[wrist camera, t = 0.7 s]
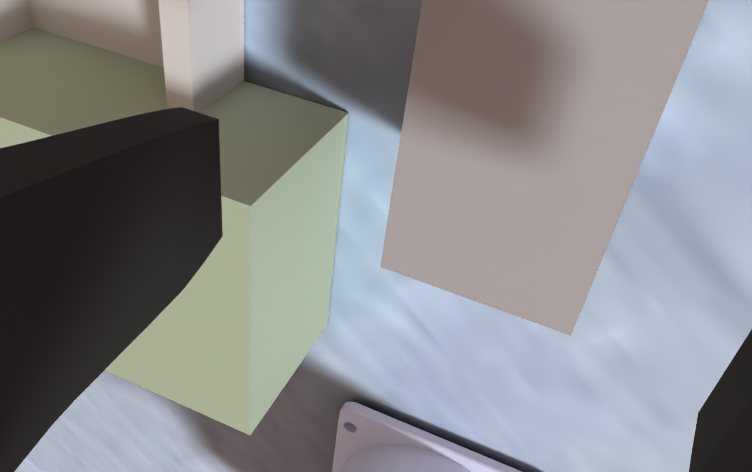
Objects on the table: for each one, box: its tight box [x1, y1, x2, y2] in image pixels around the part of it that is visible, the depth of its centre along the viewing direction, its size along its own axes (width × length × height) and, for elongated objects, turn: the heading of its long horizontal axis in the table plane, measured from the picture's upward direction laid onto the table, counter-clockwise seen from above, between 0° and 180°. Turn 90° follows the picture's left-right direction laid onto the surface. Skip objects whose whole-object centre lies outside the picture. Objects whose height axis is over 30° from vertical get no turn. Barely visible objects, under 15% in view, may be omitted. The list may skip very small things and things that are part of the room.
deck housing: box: [0, 0, 349, 435], centre depth 18 cm, size 18×14×5 cm
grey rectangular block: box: [381, 0, 709, 335], centre depth 13 cm, size 7×4×5 cm, turn 174°
